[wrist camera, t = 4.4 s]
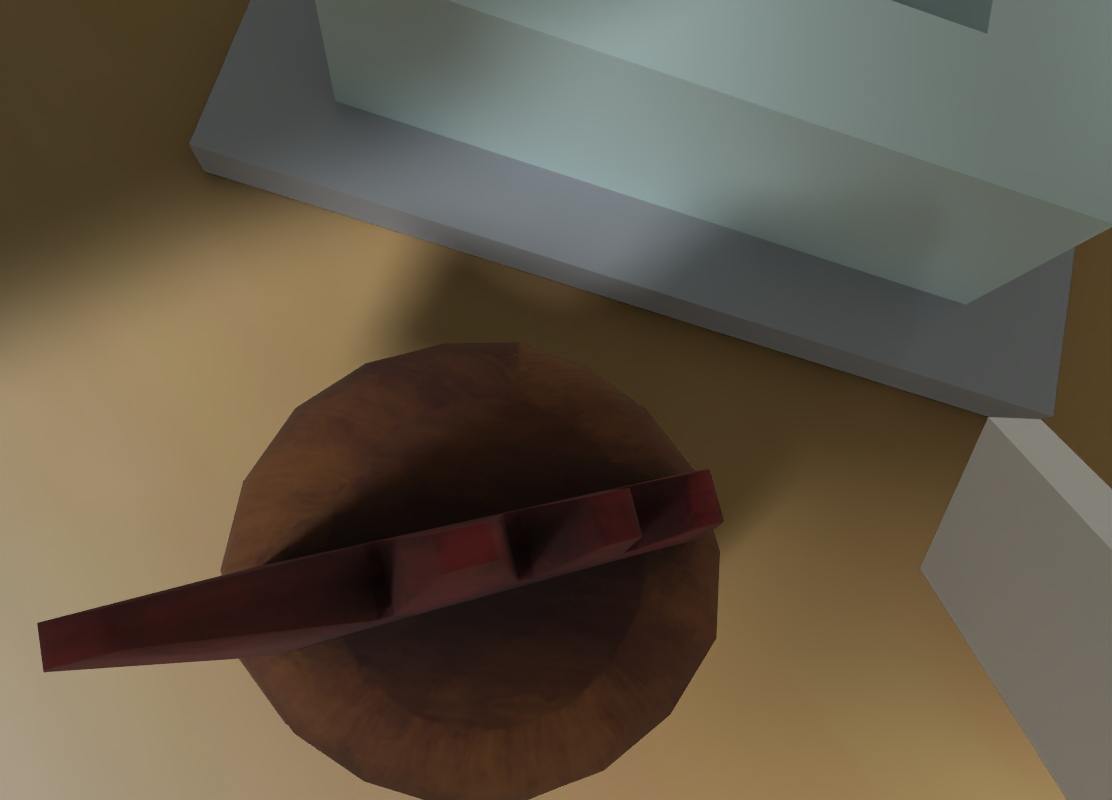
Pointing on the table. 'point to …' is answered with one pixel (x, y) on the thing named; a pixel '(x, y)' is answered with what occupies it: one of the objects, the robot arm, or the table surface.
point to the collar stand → (716, 161)
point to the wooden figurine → (451, 576)
